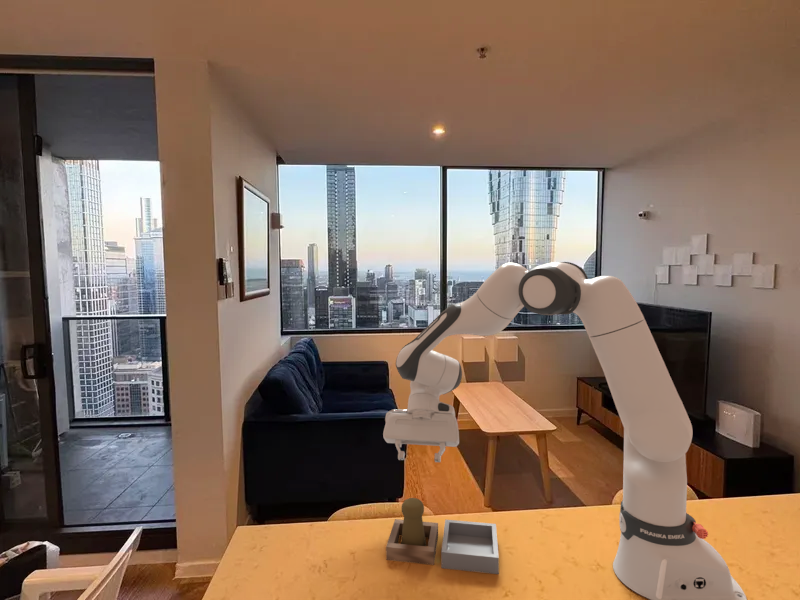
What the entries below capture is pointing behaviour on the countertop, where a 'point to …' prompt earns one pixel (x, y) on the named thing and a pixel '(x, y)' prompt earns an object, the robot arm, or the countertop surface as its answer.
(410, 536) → the olive pawn
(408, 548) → the walnut holder
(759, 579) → the countertop surface
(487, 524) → the slate tray
